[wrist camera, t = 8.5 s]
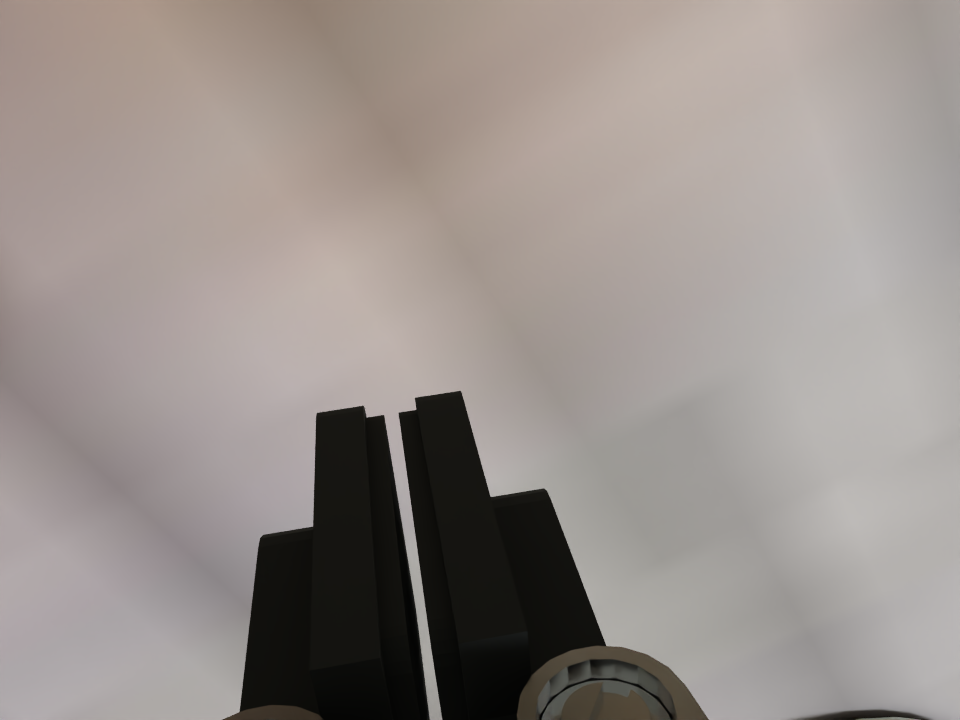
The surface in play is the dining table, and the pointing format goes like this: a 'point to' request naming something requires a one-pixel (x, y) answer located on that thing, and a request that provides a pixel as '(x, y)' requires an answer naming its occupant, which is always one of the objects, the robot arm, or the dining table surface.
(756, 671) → the dining table surface
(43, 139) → the dining table surface
